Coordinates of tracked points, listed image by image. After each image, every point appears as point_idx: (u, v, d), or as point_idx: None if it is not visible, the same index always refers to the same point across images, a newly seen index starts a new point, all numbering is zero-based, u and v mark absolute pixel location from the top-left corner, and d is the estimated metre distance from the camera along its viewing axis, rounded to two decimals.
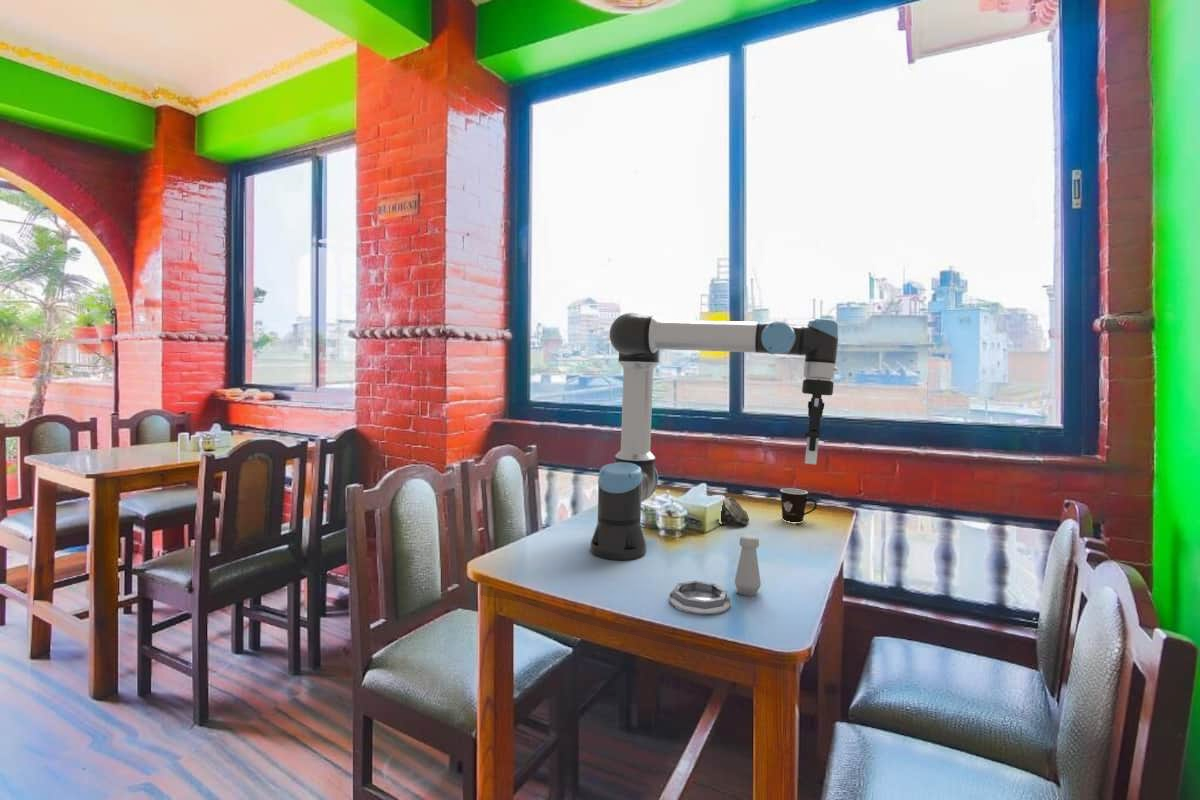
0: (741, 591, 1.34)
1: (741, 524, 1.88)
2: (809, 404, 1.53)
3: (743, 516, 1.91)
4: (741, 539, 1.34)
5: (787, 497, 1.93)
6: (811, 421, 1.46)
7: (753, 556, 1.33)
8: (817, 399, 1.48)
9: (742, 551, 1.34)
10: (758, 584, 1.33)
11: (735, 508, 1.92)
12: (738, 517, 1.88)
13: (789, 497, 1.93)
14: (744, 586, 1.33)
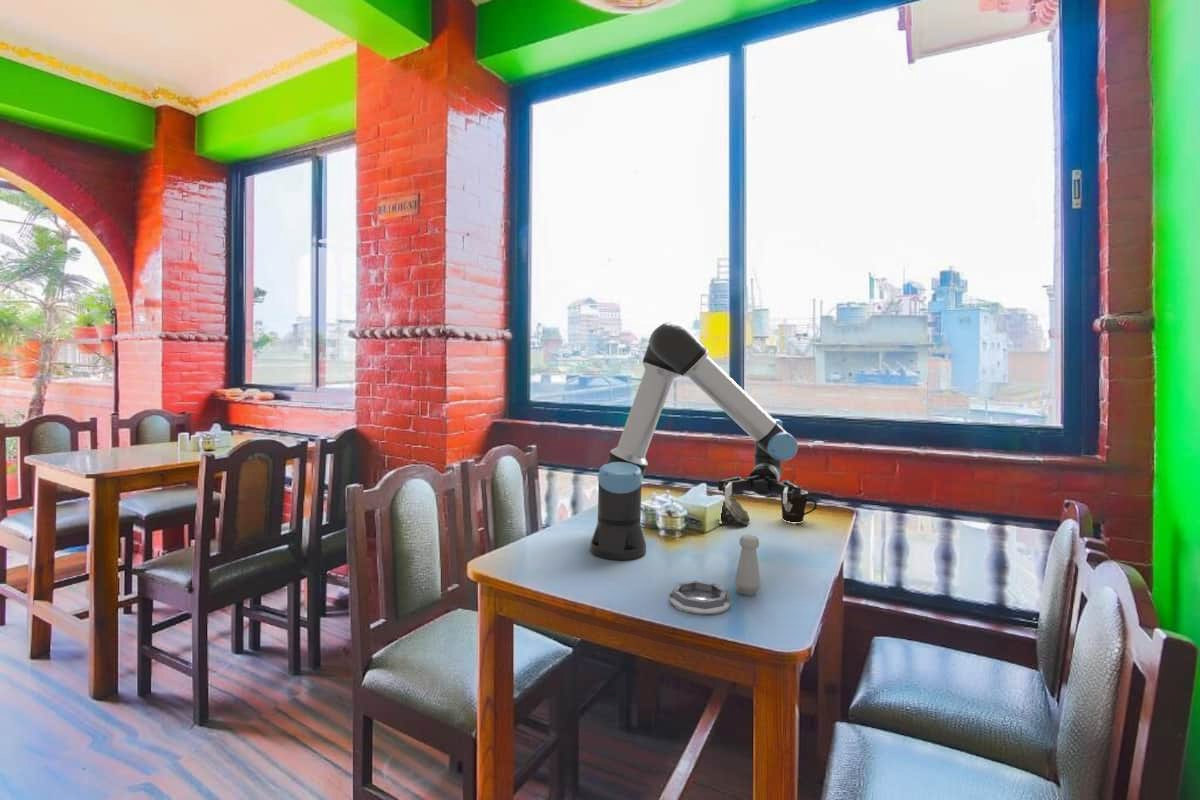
0: (741, 591, 1.34)
1: (742, 524, 1.88)
2: None
3: (744, 516, 1.91)
4: (741, 539, 1.34)
5: None
6: None
7: (753, 556, 1.33)
8: None
9: (742, 551, 1.34)
10: (758, 584, 1.33)
11: (736, 508, 1.92)
12: (739, 517, 1.88)
13: None
14: (744, 586, 1.33)
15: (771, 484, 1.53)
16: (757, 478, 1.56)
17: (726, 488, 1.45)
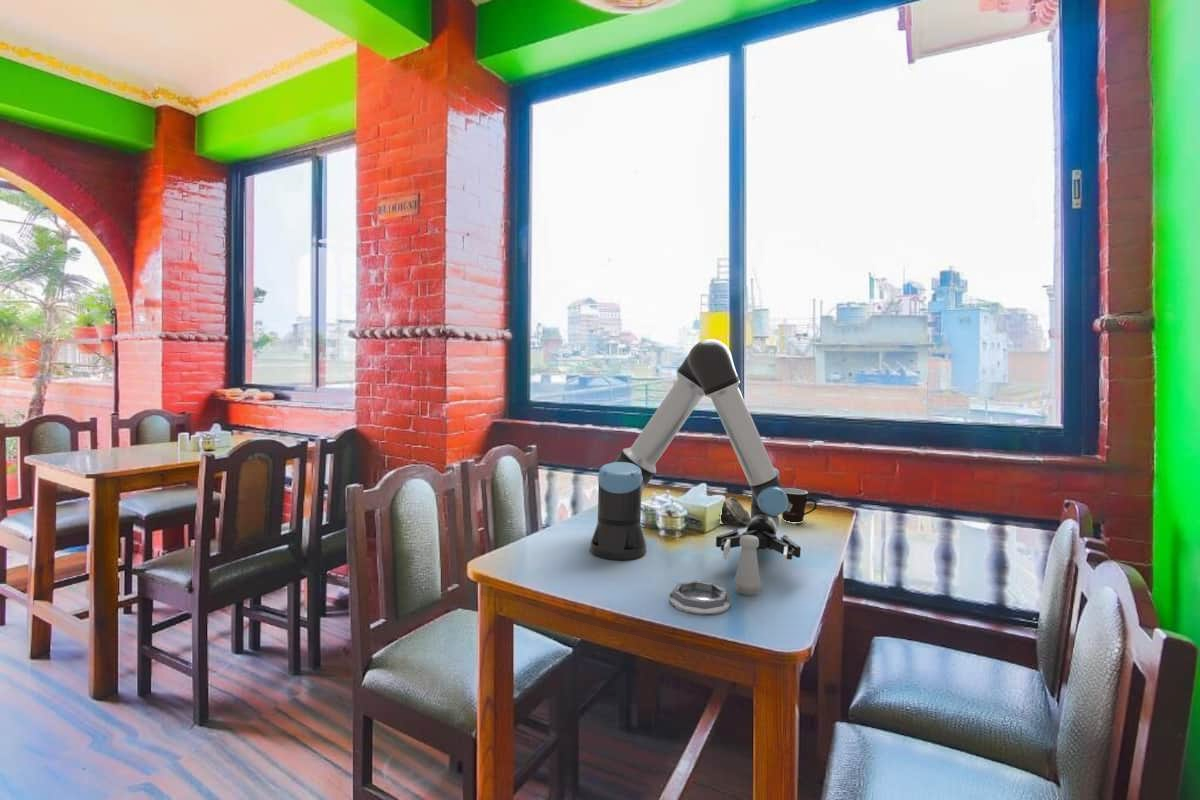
0: (741, 591, 1.34)
1: (742, 524, 1.88)
2: None
3: (744, 516, 1.91)
4: (741, 539, 1.34)
5: None
6: None
7: (753, 556, 1.33)
8: None
9: (742, 551, 1.34)
10: (758, 584, 1.33)
11: (736, 508, 1.92)
12: (739, 517, 1.88)
13: (789, 497, 1.93)
14: (744, 586, 1.33)
15: (770, 540, 1.50)
16: (755, 533, 1.53)
17: (725, 548, 1.42)
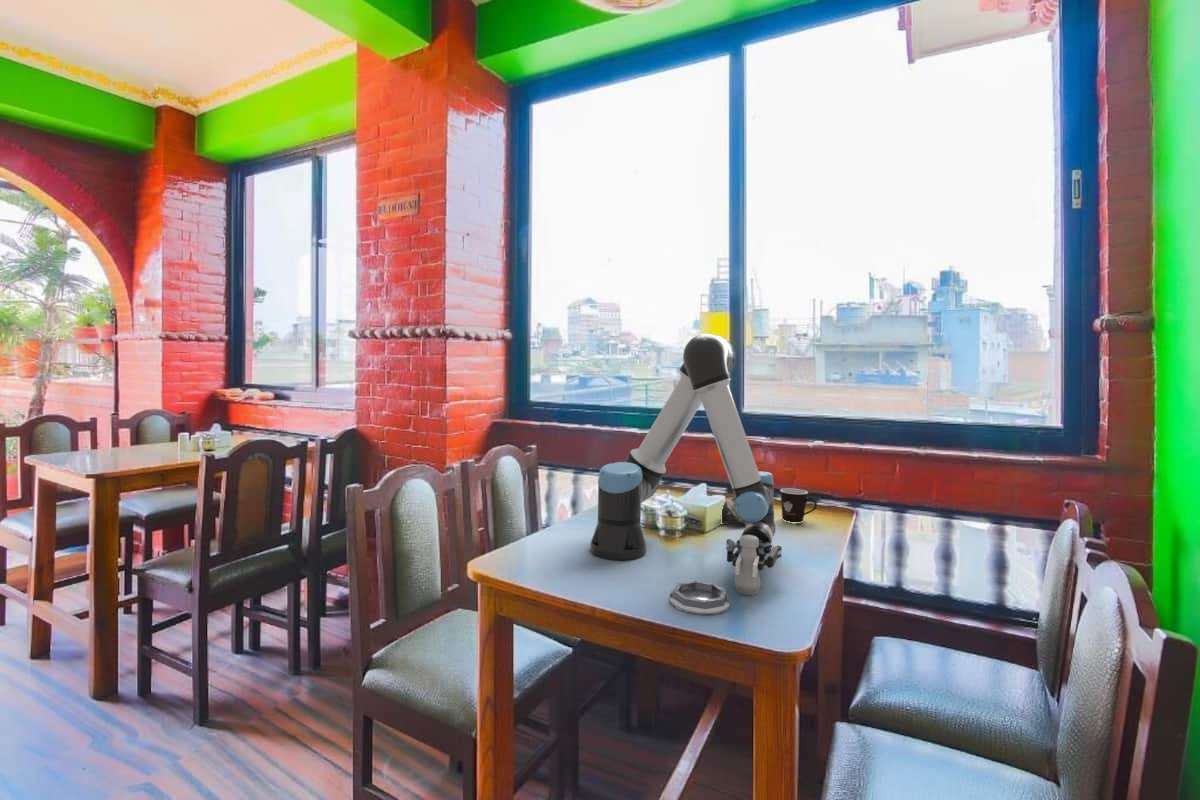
0: (741, 591, 1.34)
1: (743, 524, 1.88)
2: (762, 542, 1.44)
3: None
4: (741, 539, 1.34)
5: (787, 497, 1.93)
6: (775, 555, 1.38)
7: (753, 556, 1.33)
8: None
9: (742, 551, 1.34)
10: (758, 584, 1.33)
11: None
12: None
13: (789, 497, 1.93)
14: (744, 586, 1.33)
15: (757, 549, 1.42)
16: None
17: (737, 563, 1.30)
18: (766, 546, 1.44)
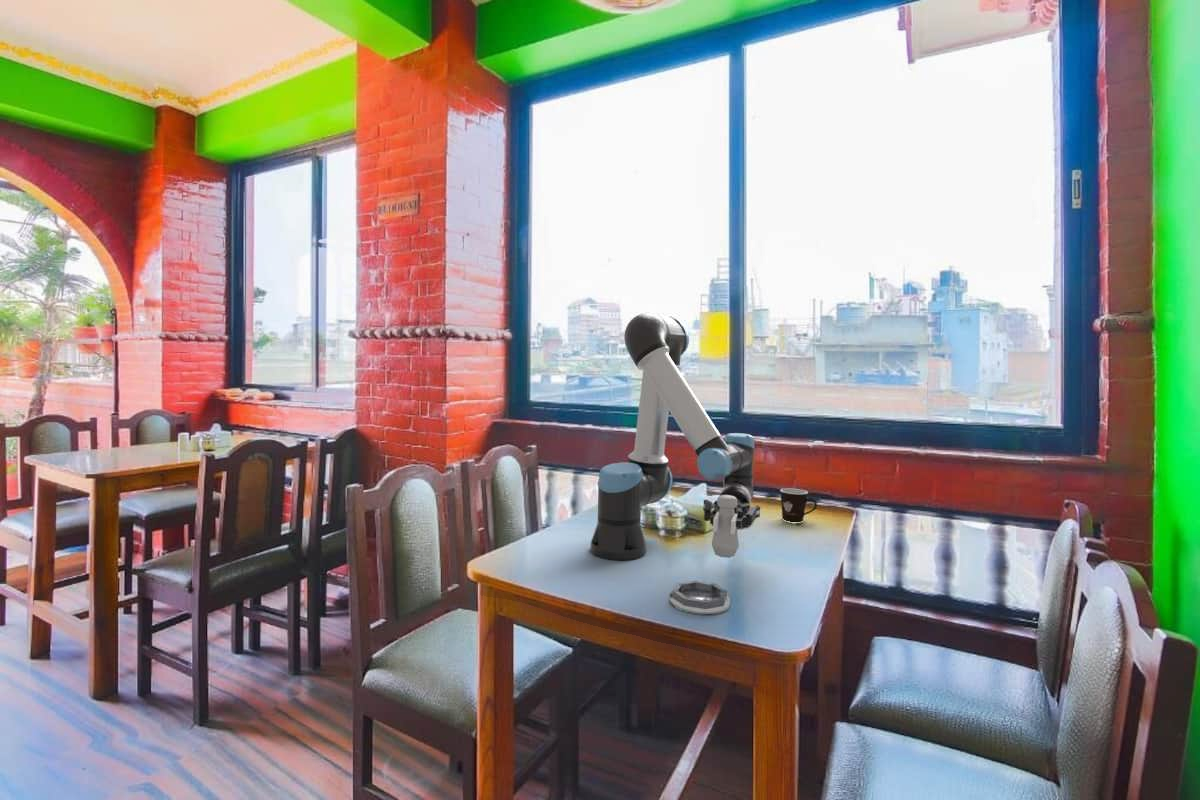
0: (719, 553, 1.28)
1: (744, 524, 1.88)
2: (740, 502, 1.39)
3: None
4: (719, 499, 1.28)
5: (787, 497, 1.93)
6: (753, 513, 1.33)
7: (731, 516, 1.28)
8: (759, 512, 1.38)
9: (720, 511, 1.29)
10: (736, 545, 1.28)
11: None
12: None
13: (789, 497, 1.93)
14: (722, 548, 1.27)
15: (735, 509, 1.37)
16: None
17: (715, 520, 1.25)
18: (744, 506, 1.38)
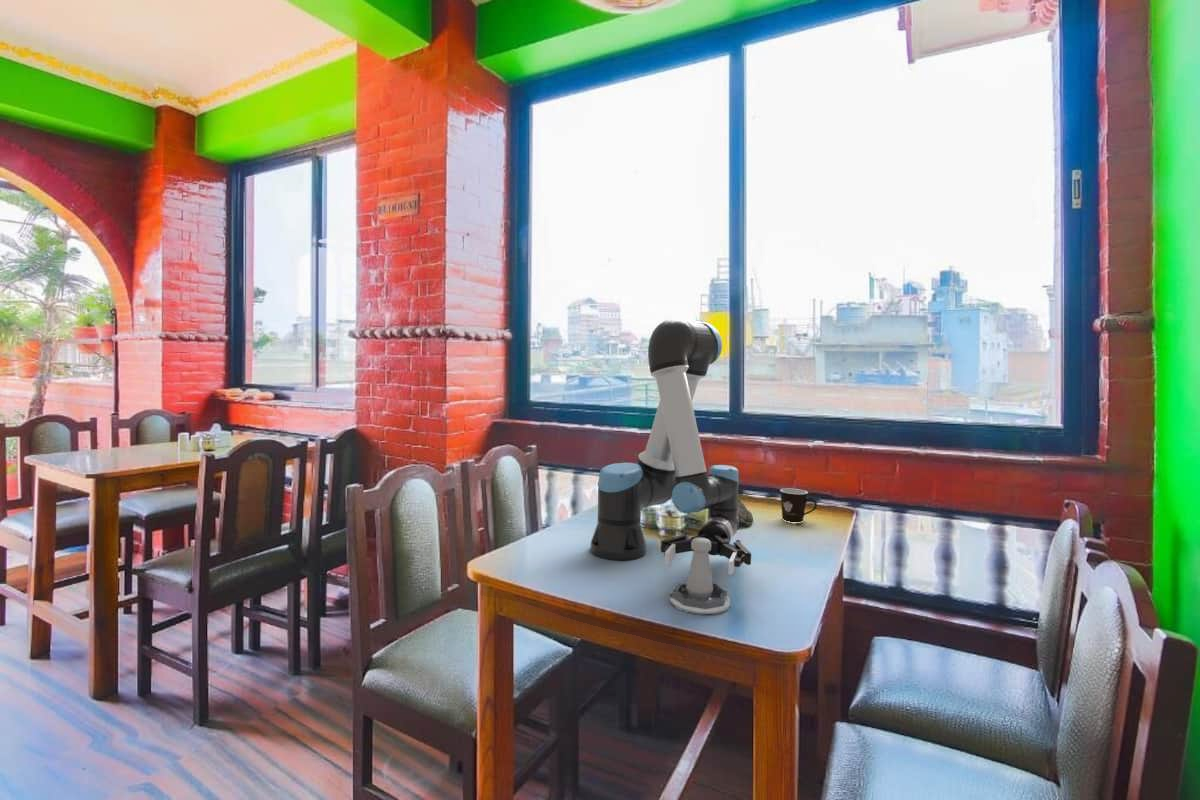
0: (693, 597, 1.27)
1: (745, 524, 1.88)
2: None
3: (747, 516, 1.91)
4: (693, 542, 1.27)
5: (787, 497, 1.93)
6: None
7: (705, 559, 1.27)
8: None
9: (694, 555, 1.28)
10: (711, 589, 1.27)
11: (739, 508, 1.92)
12: (742, 517, 1.88)
13: (789, 497, 1.93)
14: (696, 592, 1.26)
15: (720, 546, 1.36)
16: (706, 537, 1.39)
17: (666, 553, 1.28)
18: (727, 542, 1.38)
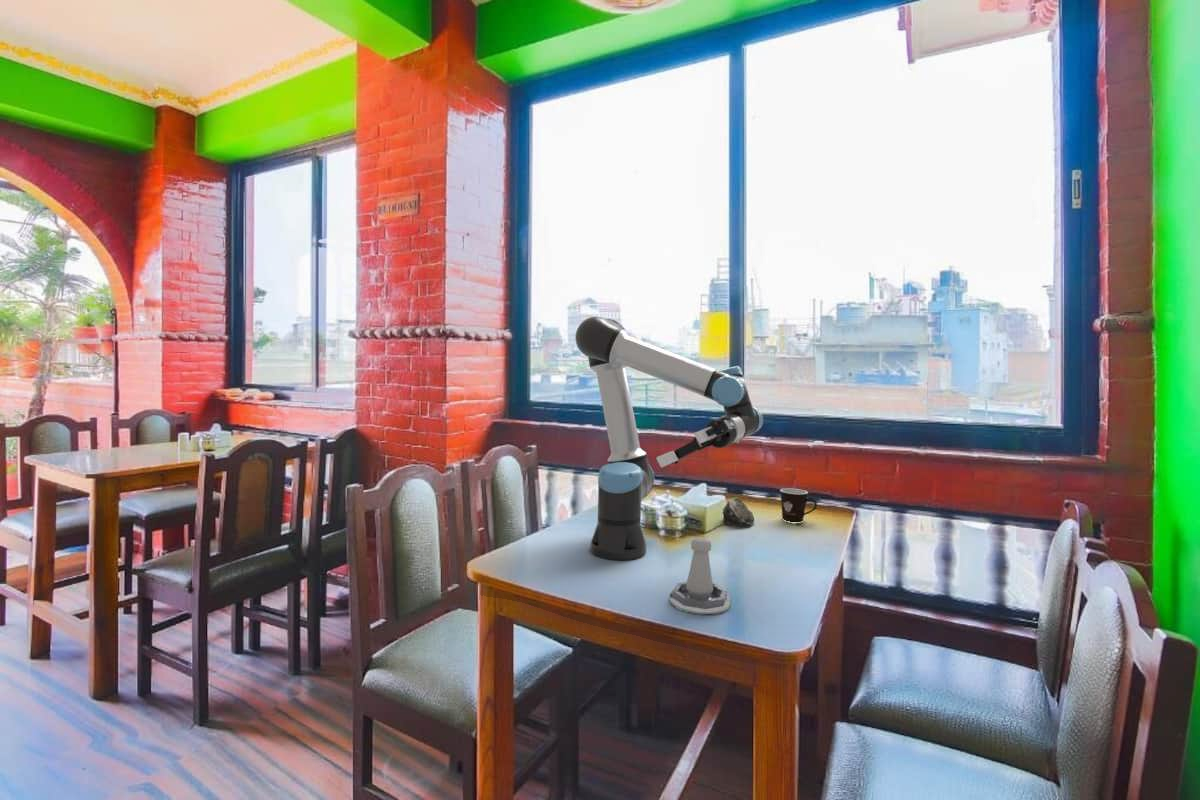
0: (693, 597, 1.27)
1: (745, 525, 1.88)
2: None
3: (748, 517, 1.91)
4: (693, 542, 1.27)
5: (787, 497, 1.93)
6: (726, 421, 1.43)
7: (705, 559, 1.27)
8: (733, 424, 1.48)
9: (694, 555, 1.28)
10: (711, 589, 1.27)
11: (740, 508, 1.92)
12: (742, 517, 1.88)
13: (789, 497, 1.93)
14: (696, 592, 1.26)
15: None
16: None
17: (657, 458, 1.46)
18: None
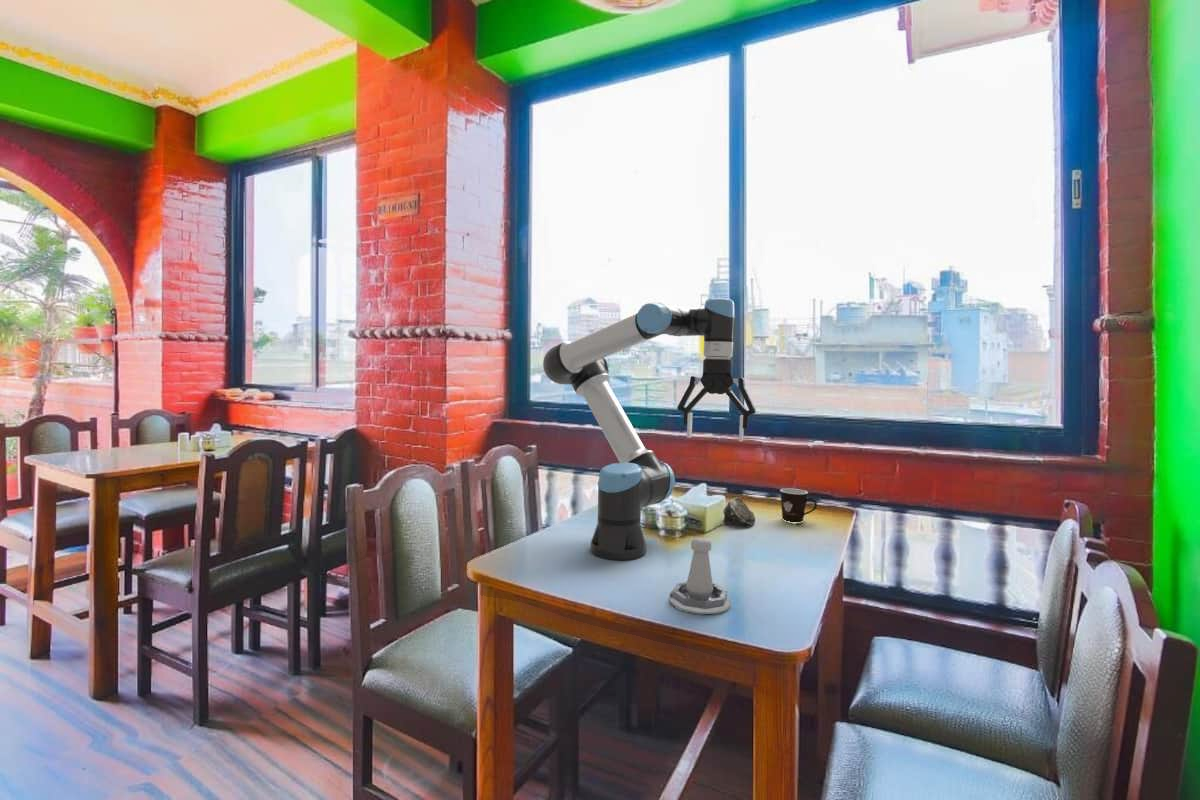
0: (693, 597, 1.27)
1: (746, 525, 1.88)
2: None
3: (749, 517, 1.91)
4: (693, 542, 1.27)
5: (787, 497, 1.93)
6: None
7: (705, 559, 1.27)
8: (691, 377, 1.58)
9: (694, 555, 1.28)
10: (711, 589, 1.27)
11: (741, 508, 1.92)
12: (743, 518, 1.88)
13: (789, 497, 1.93)
14: (696, 592, 1.26)
15: (706, 392, 1.57)
16: None
17: None
18: None
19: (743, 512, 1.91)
